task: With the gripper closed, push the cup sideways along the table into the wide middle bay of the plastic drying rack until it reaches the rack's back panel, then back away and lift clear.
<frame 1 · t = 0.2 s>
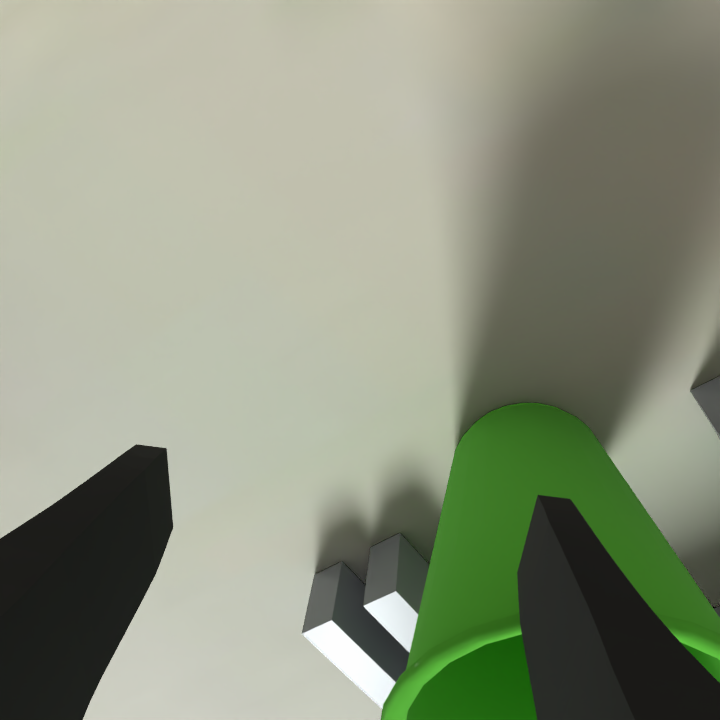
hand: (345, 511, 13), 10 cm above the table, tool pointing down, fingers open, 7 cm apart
rack: (591, 545, 26), on the table
cup: (524, 455, 24), on the table
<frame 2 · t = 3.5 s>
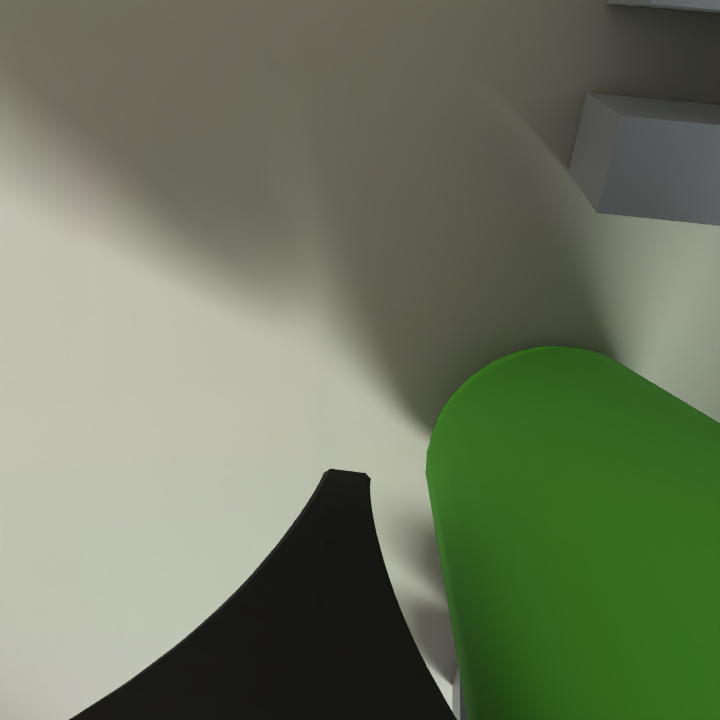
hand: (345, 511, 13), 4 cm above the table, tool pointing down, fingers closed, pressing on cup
rack: (700, 441, 16), on the table
cup: (526, 432, 16), point 1 cm above the table, touching gripper
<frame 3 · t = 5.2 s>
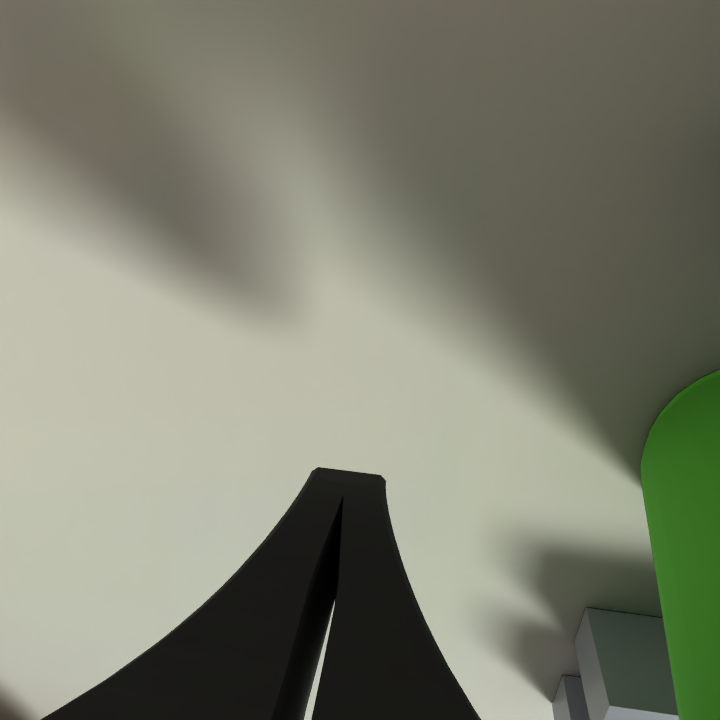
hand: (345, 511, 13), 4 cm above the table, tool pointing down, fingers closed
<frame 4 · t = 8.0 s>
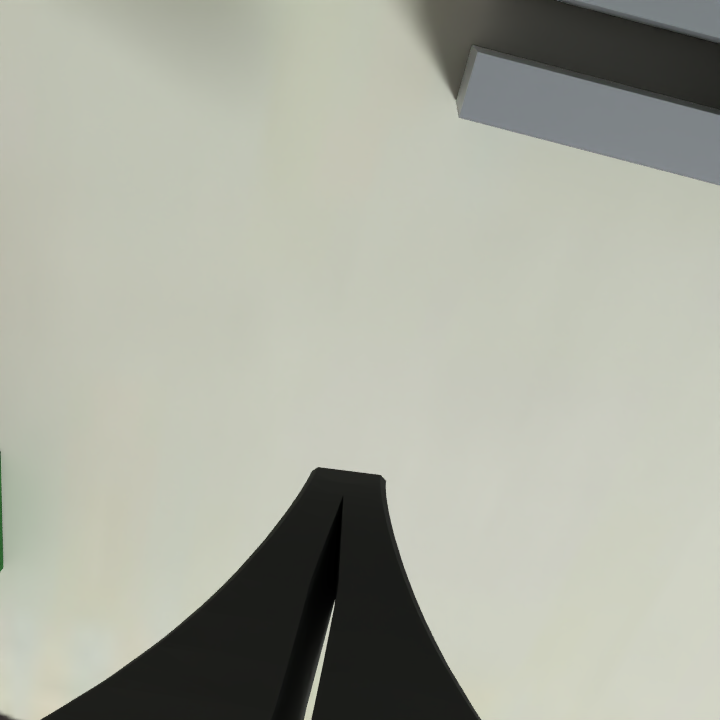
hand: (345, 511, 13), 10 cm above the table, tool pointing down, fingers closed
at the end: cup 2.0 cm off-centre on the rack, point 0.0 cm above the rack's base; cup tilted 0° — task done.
